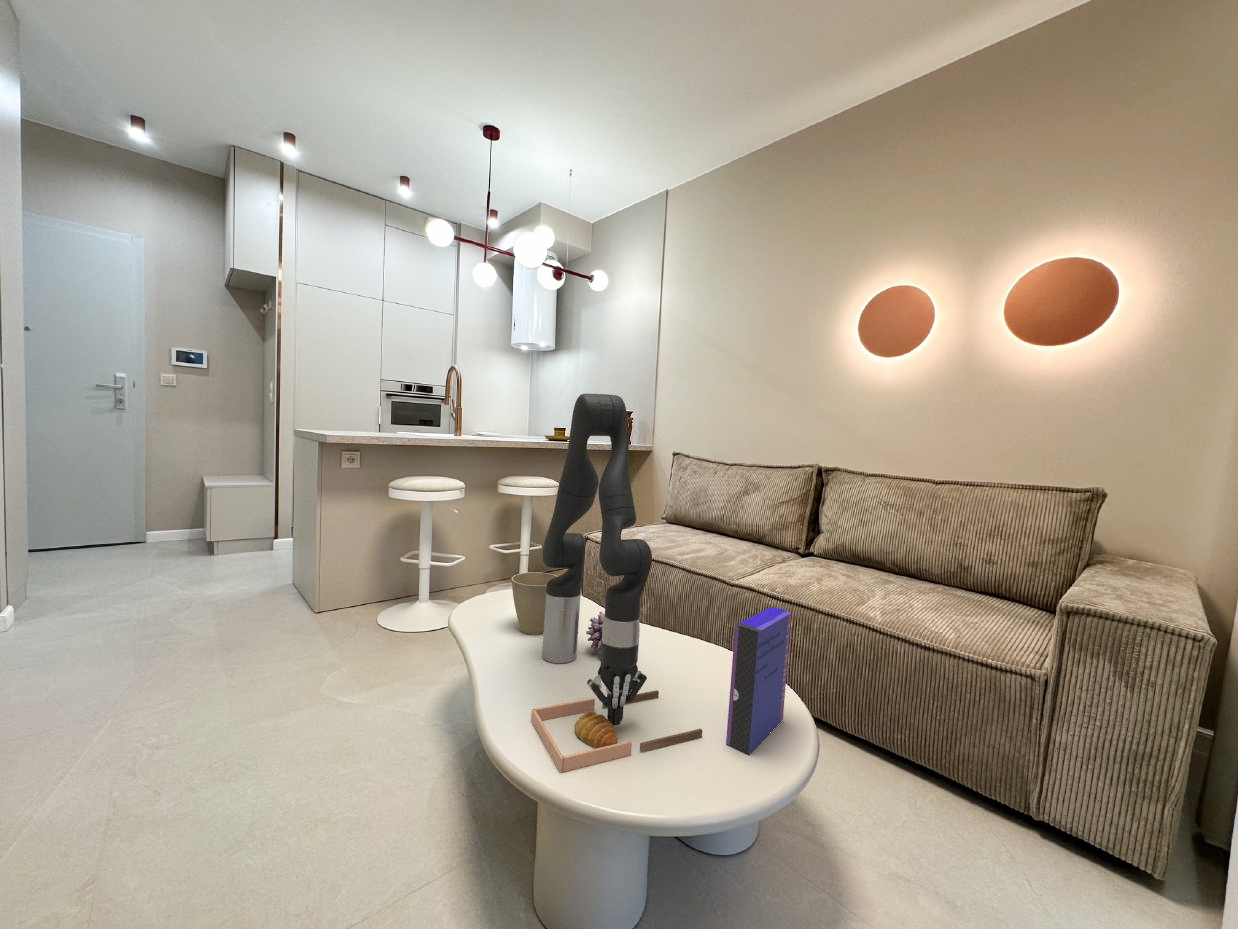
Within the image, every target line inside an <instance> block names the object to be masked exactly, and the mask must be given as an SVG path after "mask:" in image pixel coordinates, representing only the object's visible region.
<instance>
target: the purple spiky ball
mask: <svg viewBox="0 0 1238 929" xmlns="http://www.w3.org/2000/svg"><path fill="white" fill-rule="evenodd" d="M598 613H599V614H597V617H598V618H597V617H594V616H593V618H592V617H591V618H590V619H589V621H590V622H591V623H590V626H588V627H587V629H588V630H586V631H585V632H586V633H585V634H586V635H589V636H590V637H589V638H587V641H588V642H592V643H591V644H590V648H593V649H594V650H597V649H598V650H599V655H601V641H602V627H603V621H604V615H605V613H603V611H602V610H601V611H599V612H598Z"/></svg>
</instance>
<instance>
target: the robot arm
mask: <svg viewBox="0 0 1238 929" xmlns="http://www.w3.org/2000/svg"><path fill="white" fill-rule="evenodd" d="M628 422H629V420H628V412H627V407H626V404H625V400H624V398H622V397H621V396H619V395H616V394H606V393H605V394H604V393H581V394H579V395H578V397H577V398H576V400H575V404H574V405H573V410H572V416H571V422H570V429H569V439H568V446H567V450H566V451H567V452H566V456H565V460H564V464H563V469H562V472H561V475H560V479H559V483H558V488H557V494H556V499H555V504H554V509H553V514H552V517H551V521H550V523H549V525H548V526H549V527H548V529H547V532H546V535H545V538H544V542H543V546H542V547H543V548H542V561H543V563H544V565H545V566H546V567H547V568H550V569H551V568H552V569H567V570H566V571H565V572H564V573H562V574H560V575H559V576H558V575H557V576H558V577H556V578H553V579H551V580H549V581H548V583H547V587H546V602H545V618H544V633H542V634H543V635H542V648H541V650H542V651H541V657H542V660H544V661H547V662H549V663H553V664H568V663H571V662H573V661H575V660H576V659H577V651H578V639H579V638H578V637H579V624H580V623H579V622H580V612H581V609H580V608H581V596H582V592H581V591H582V586H583V576H584V566H585V559H586V545H587V544H586V539H585V537H584V535H583V534H582V533H578V532H567V531H568V530H569V529H570V528H571V526H573V525H575V523H576V522H578V521H579V520H580V519H582V518H583V517H584V515H586V514H587V513H588V512H589V511H590V510H591V508H592V507H593V505H594V502H595V498H596V496H597V493H598V502H599V507H600V508H599V509H600V514H601V520H602V521H601V523H602V526H601V537H600V545H599V555H598V559H599V560H598V561H599V564H600V566H601V568H602V571H603V572H604V573H605V574H607V576H610V577H622V576H623V578H622V580H621V581H620V582H618V583H616V584H614V585H611V586H609V587H608V588H607V589H606V593H605V600H604V602H605V605H604V614H605V615H604V621H603V627H602V641H601V654H600V656H599V657H600V658H599V659H600V660H599V661H600V666H599V668H598V671H597V675H596V676H595V677H594V678H593V679H592V678H590V679H588V680H587V682H586V684H587V685H588V687H589V688H590V689H591V691H592V693H594V695H595V696H596V698H597V699H598V700H599V701H600V702H601V703H602V706H603V705H604V706H605V707H608V708H607V716H606V717H607V718H606V719H608V720H609V722H610V723H611V725H612V726H613V727H615V726H619V725H621V722H623V720H624V719H623V718H624V707H625V705H626V704H625V703H627V702H632V701H633V699H634V698H635V696H636V695H637V694H639V692H640V690H641V688H642V687H644V686H643V685H644V684H645V683H646V681H647V679H648V677H647V676H646V675H645V674H644V673H643V672H642V671H641V670H639V667H638V665H637V664H638V660H639V659H638V658H639V646H640V645H639V644H640V634H641V631H640V630H641V628H640V627H641V625H640V615H641V614H640V613H641V598H642V595H643V592H644V590H645V586H646V584H647V580H648V578H649V575H650V572H651V569H652V564H653V554H652V550H651V547H650V545H649V544H648V543H647V542H646V541H645V540H643V539H642V538H631V539H630V538H629V539H622V532H623V530H626V529H629V528H631V527H633V526H635V524H636V522H637V512H636V507H635V502H634V495H633V491H632V485H631V476H630V447H629V446H630V443H629V426H628V425H629V424H628ZM590 437H609V438H610V439H609V440H610V444H611V445H610V446H611V447H610V454H609V457H608V460H607V464H606V466H605V468H604V470H603V473H602V475H601V477H600V480H599V477H598V473H597V470H596V468H595V466H594V464H593V463H592V461H591V458H590V456H589V453H588V448H587V447H588V442H589V441H588V440H589V439H590ZM597 491H598V492H597ZM602 683H603V684H604V687H605V691H606V695H605V694H604V692H603V691H602V688H603V687H602Z"/></svg>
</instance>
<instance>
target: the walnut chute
mask: <svg viewBox="0 0 1238 929" xmlns="http://www.w3.org/2000/svg"><path fill="white" fill-rule="evenodd" d="M659 693H660V691H659V690H658V689H656V690H650V691H646V692H640V693H637V695H636V696H635V698H634V699H633V701H632V702H627V703H625V705H628V704H629V705H630V704H634V703H638V702H645V701H649V700H654V699H659V696H660V695H659ZM602 709H608V707H605V706H604V705H603V704H602ZM701 738H703V729H702V728H701V727H700V728H696V729H694V730H693V729H692V730H688V731H685V732H679V733H675V734H672V735H668V736H664V737H659V738H655V739H652V740H651V739H650V740H647V741H643V742H639V751H640V753H644V752H645V753H646V752H649V751H653V750H656V749H662V748H666V747H669V746H673V745H678V744H681V743H684V742H689V741H693V740H697V739H701Z"/></svg>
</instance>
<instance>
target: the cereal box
mask: <svg viewBox="0 0 1238 929" xmlns="http://www.w3.org/2000/svg"><path fill="white" fill-rule="evenodd" d="M791 622H792V612H790V611H787V610H785V609H781V608H777V607H776V608H775V607H772V606H771V607H768V608H766V609H764V610H762V611H760V612H758V613H756V614H753V615H752V616H750V617H748V618H747V619H745V620H743V621H740V622H739V623H737V624H735V625H734V635H733V647H732V648H733V649H732V658H731V659H732V661H731V673H730V674H731V675H730V688H729V700H728V715H727V726H726V727H727V728H726V739H725V746H728V747H730V748H732V749H734V750H736V751H739V752H740V753H742V754H744V755H747V756H750V755H751V754H752V753H753V752H754V751H755V750H756V749H757V748H758V747H759V746H760V745H761V744H762V743H763V742H764V741H765V740H766V738H768V737H769V736H770V735H771V733H773V732H774V730H775V729H777V727H778V726H779V725H780V724H781V723H782V722H783V721H784V711H785V698H786V697H785V696H786V685H787V672H788V662H789V661H788V659H789V650H790V649H789V648H790V634H791V625H792V624H791ZM782 720H783V721H782ZM781 721H782V722H781ZM780 722H781V723H780ZM779 723H780V724H779ZM778 724H779V725H778ZM777 725H778V726H777ZM776 726H777V727H776ZM774 728H775V729H774ZM773 729H774V730H773ZM770 732H771V733H770ZM764 739H765V740H764ZM763 740H764V741H763ZM762 741H763V742H762ZM761 742H762V743H761Z"/></svg>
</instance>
